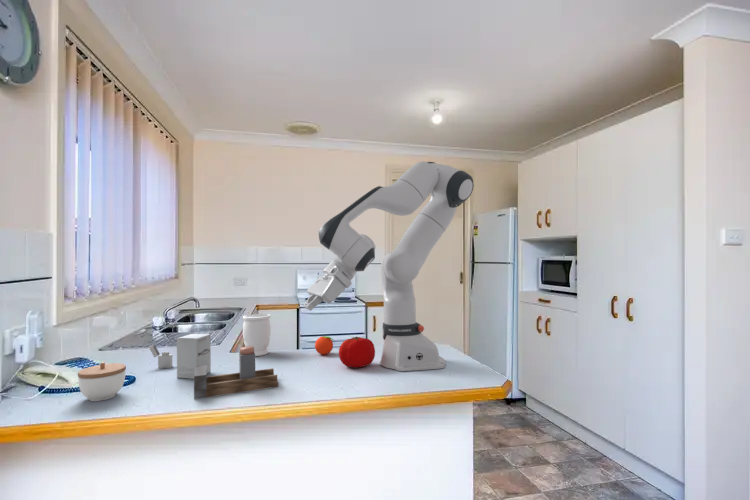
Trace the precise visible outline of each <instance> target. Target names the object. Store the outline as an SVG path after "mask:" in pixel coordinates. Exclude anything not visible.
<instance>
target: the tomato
mask: <svg viewBox="0 0 750 500" xmlns="http://www.w3.org/2000/svg"><path fill="white" fill-rule="evenodd" d="M365 337H366V336H355V337H354V336H353V337H351V338H347V339H345V340H344V341H343V342H342V343H341V345H340V346H339V349H338V357H339V360H340V361H341V363H342V364H343V365H344V366H346V367H347V368H354V369H355V368H357V369H358V368H364V367H366V366H368V365H371V364H372V363H373V361H374V359H375V357H376V356H375V355H376V348H375V344H374V342H373V341H372V340H371V339H370V338H365Z"/></svg>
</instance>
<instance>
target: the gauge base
mask: <svg viewBox="0 0 750 500" xmlns="http://www.w3.org/2000/svg"><path fill="white" fill-rule="evenodd" d="M274 372H275V371H274V368H273V367H272V368H266V369H257V370H256V369H255V378H247V379H240V372H235V373H233V372H232V373H225V374H217V375H211V376H207V374H208V373H207V371H206V366H197V367H195V372H194V379H193V399H194V400H196V399H202V398H210V397H215V396H217V397H218V396H223V395H224V396H225V395H230V394H238V393H243V392H244V393H245V392H250V391H258V390H264V389H271V388H272V389H273V388H279V381H278V374H275V373H274Z"/></svg>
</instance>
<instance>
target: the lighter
mask: <svg viewBox="0 0 750 500" xmlns="http://www.w3.org/2000/svg"><path fill="white" fill-rule="evenodd" d="M148 348H149V350H150V352H151V354H152V356H153V358H156V357H157V368H158V369H169V368H170V369H171V368H172V367H173V353H170V352H169V351H162V352H161V353H160V351H159V350H158V348H157V346H156V344H152V345H149V346H148Z"/></svg>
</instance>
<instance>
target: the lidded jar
mask: <svg viewBox="0 0 750 500" xmlns="http://www.w3.org/2000/svg"><path fill="white" fill-rule="evenodd" d="M126 366H127V365H126V364H124V363H115V362H114V363H106V362H104V361H103V362H102V361H101V362H100V363H99V364H97V365H92V366H89V367H85V368H82V369H80V370H79V371H78V373H77V377H78V387H79V391H80V393H81V394H82V396H84V397H85V399H86V398H87V399H88V401H89V400H90V402H100V401H106V400H110V399H113V398H114V397H116V396H117V394H118V393H119V392H120V390H122V388H123V386H124V384H125V380H126V369H127V367H126Z"/></svg>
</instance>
